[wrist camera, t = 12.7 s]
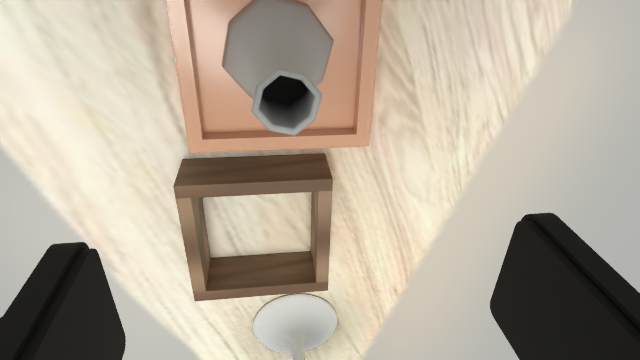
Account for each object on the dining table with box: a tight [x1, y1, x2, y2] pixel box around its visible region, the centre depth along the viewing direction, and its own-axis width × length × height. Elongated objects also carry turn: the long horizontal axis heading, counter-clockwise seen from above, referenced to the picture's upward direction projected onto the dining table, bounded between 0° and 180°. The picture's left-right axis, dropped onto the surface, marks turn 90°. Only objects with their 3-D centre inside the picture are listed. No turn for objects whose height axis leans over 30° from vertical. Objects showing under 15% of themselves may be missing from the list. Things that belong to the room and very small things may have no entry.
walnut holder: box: [174, 154, 333, 301], centre depth 33 cm, size 11×11×4 cm
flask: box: [222, 0, 334, 136], centre depth 23 cm, size 7×7×10 cm
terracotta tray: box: [166, 0, 382, 153], centre depth 27 cm, size 13×13×2 cm
